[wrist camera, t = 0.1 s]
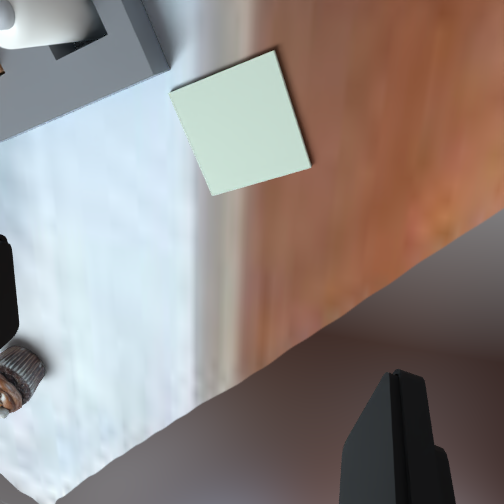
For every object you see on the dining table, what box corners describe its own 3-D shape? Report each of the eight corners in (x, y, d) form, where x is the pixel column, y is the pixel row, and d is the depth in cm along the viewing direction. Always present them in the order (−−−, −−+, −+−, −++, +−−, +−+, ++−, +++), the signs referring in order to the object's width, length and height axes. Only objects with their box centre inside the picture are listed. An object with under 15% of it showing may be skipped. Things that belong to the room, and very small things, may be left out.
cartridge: (54, -7, 43) (-52, -10, 32) (94, -29, 41) (-5, -42, 30) (80, 47, 45) (-12, 60, 34) (119, 27, 43) (35, 35, 32)
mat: (170, 92, 45) (168, 93, 45) (274, 49, 41) (273, 50, 40) (213, 194, 50) (212, 196, 50) (311, 165, 46) (311, 167, 45)
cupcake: (59, 381, 76) (20, 429, 67) (19, 384, 79) (-23, 429, 71) (31, 340, 72) (-14, 384, 63) (-10, 344, 75) (-58, 387, 67)
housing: (-75, 0, 47) (-110, -1, 43) (93, -114, 38) (66, -125, 35) (8, 139, 53) (-16, 148, 50) (170, 69, 44) (153, 75, 41)
